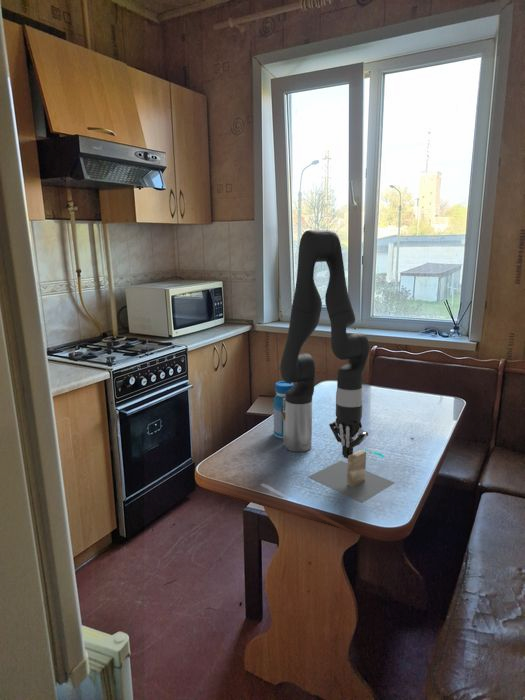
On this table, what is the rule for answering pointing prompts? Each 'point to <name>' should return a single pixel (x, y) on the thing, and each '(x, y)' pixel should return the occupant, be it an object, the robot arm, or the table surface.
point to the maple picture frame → (356, 468)
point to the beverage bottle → (280, 406)
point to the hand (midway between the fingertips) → (347, 457)
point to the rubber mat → (338, 481)
